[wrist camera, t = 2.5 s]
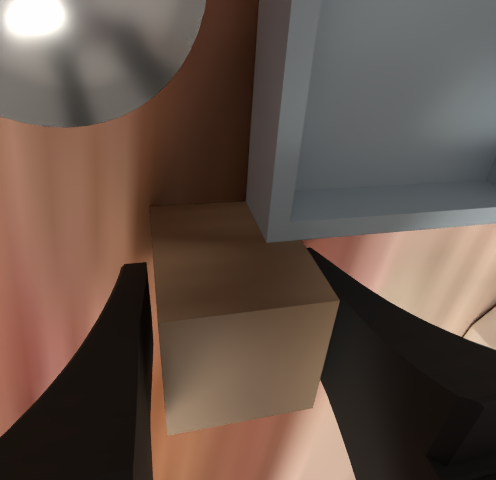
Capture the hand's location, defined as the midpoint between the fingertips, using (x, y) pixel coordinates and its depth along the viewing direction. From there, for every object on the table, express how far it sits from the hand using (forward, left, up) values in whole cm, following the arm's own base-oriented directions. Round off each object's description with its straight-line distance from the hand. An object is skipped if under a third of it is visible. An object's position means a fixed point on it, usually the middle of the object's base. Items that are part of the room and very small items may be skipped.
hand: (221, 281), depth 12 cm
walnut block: (0, 0, -2) cm, 2 cm away
